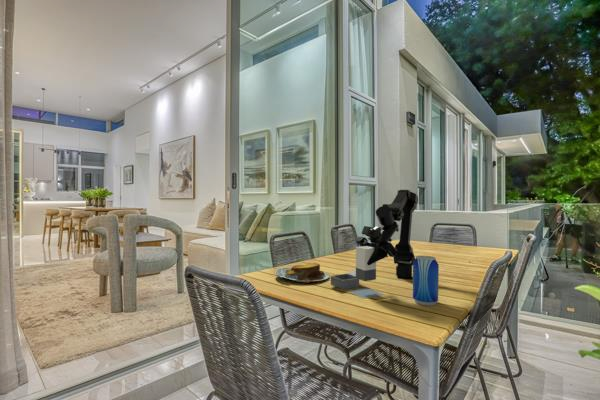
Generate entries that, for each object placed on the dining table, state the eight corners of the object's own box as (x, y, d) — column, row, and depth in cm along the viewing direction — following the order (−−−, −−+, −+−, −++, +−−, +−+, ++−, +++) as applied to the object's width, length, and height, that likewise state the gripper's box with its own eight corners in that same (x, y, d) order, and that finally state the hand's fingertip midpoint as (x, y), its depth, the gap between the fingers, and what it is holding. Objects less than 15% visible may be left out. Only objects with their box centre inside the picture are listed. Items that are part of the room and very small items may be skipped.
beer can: (436, 308, 106) (436, 260, 106) (410, 303, 110) (410, 258, 110) (439, 301, 113) (440, 256, 113) (415, 297, 118) (415, 254, 117)
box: (366, 276, 125) (366, 245, 124) (375, 279, 120) (376, 248, 120) (355, 277, 122) (355, 246, 122) (364, 281, 117) (364, 249, 117)
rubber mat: (367, 288, 128) (367, 287, 128) (384, 295, 119) (384, 294, 119) (347, 292, 123) (347, 290, 123) (363, 299, 114) (363, 298, 114)
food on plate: (286, 270, 160) (286, 257, 160) (334, 274, 152) (334, 260, 152) (265, 283, 136) (265, 268, 136) (321, 288, 128) (321, 272, 128)
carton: (352, 281, 138) (352, 269, 137) (364, 286, 130) (364, 273, 130) (325, 286, 131) (325, 273, 131) (336, 291, 124) (336, 277, 124)
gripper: (359, 217, 131) (336, 245, 126) (391, 220, 114) (367, 253, 109) (373, 234, 134) (352, 263, 130) (407, 240, 118) (384, 273, 113)
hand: (363, 262), depth 120 cm, fingers closed on box, 5 cm apart
